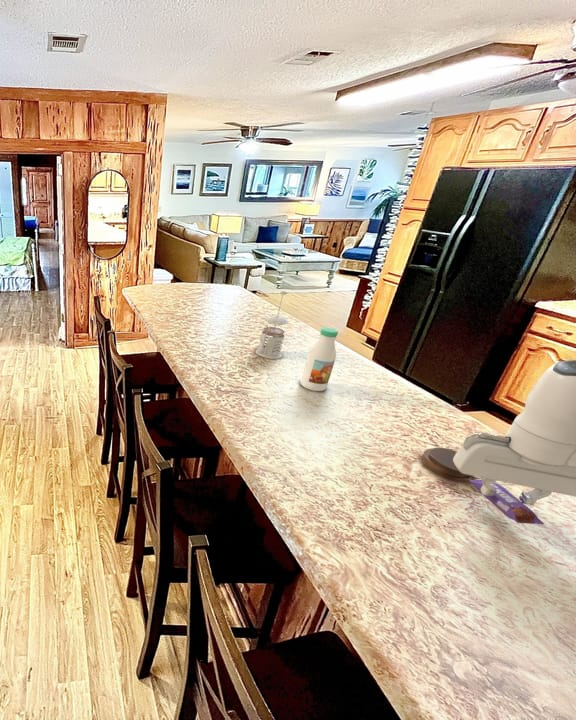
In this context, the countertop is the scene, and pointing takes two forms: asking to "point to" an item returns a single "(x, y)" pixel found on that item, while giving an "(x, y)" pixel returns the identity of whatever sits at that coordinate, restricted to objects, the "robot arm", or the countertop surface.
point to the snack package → (509, 504)
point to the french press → (273, 342)
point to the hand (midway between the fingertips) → (505, 498)
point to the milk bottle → (320, 361)
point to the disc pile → (444, 464)
